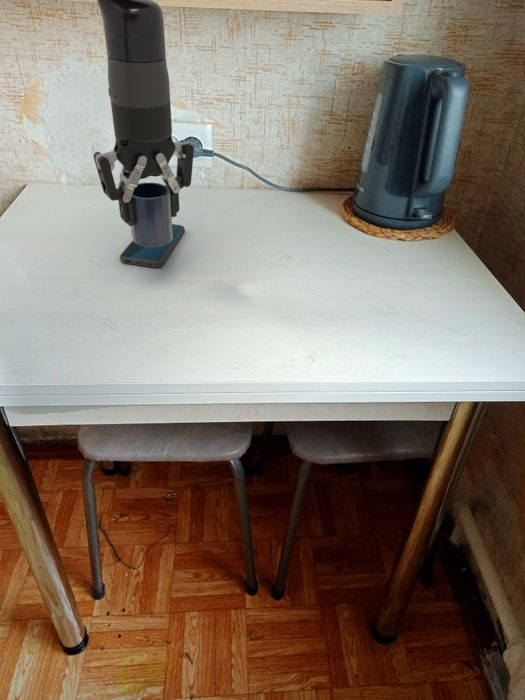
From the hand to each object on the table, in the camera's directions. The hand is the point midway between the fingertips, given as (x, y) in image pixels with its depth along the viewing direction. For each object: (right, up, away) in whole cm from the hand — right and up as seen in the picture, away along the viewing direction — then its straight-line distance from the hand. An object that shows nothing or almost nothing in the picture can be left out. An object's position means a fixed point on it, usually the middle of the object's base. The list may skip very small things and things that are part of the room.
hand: (151, 218), depth 76 cm
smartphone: (-3, -1, +17) cm, 17 cm away
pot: (0, -2, +2) cm, 3 cm away
